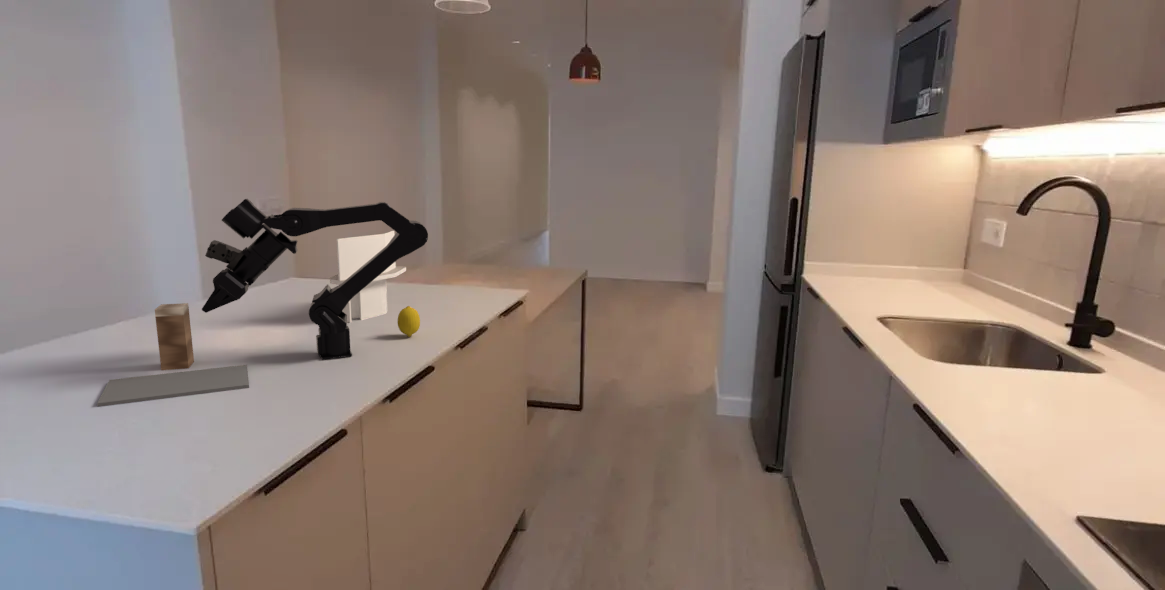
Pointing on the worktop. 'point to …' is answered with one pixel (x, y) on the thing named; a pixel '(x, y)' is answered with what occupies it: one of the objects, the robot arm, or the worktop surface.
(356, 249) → the architectural model
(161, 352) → the walnut block
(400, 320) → the lemon
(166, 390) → the slate mat
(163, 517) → the worktop surface
